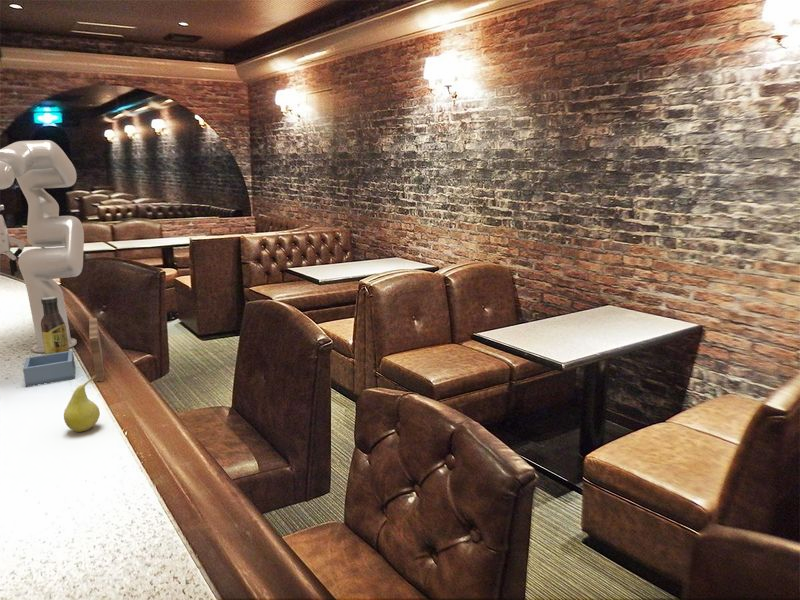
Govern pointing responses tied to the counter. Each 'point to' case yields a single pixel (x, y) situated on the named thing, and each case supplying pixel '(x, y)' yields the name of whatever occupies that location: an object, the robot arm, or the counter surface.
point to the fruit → (81, 410)
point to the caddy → (49, 368)
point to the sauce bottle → (53, 327)
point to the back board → (96, 349)
